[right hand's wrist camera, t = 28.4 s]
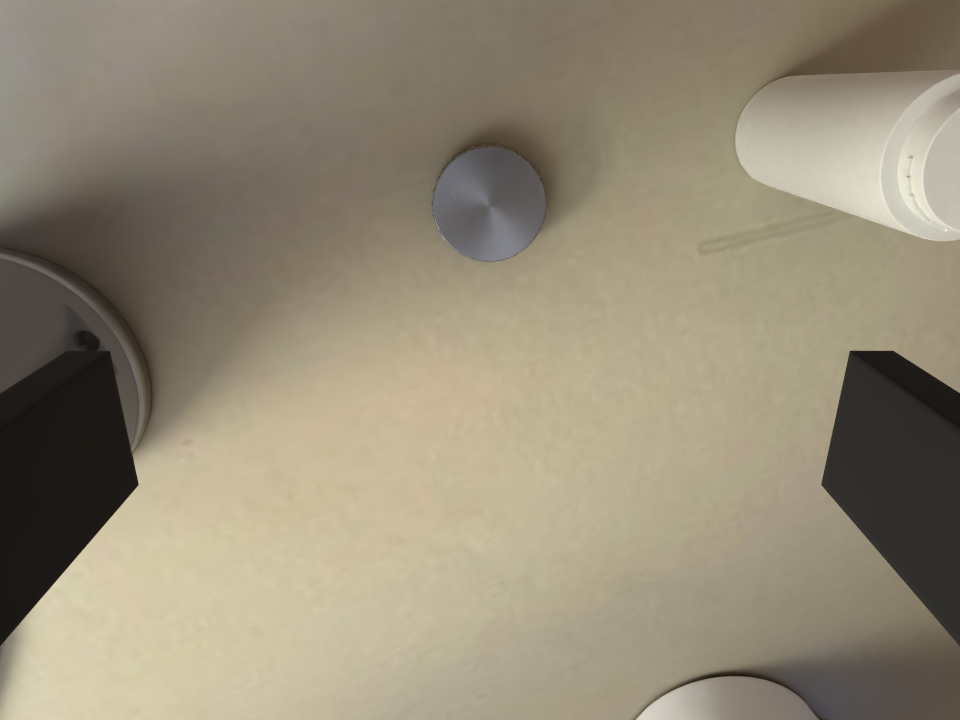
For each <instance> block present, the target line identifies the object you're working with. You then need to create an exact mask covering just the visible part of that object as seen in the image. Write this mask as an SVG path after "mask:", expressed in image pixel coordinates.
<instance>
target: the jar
mask: <svg viewBox="0 0 960 720" xmlns="http://www.w3.org/2000/svg"><path fill="white" fill-rule="evenodd" d="M735 146H736V152H737V156H738V159H739V161H740V163H741V165H742V167H743V168H744V170H745V171H746V172H747V173H748V174H749V175H750V176H751V177H752V178H753V179H755V180H756V181H758V182H760V183H762V184H765V185H767V186H770V187H773V188H776V189H779V190H782V191H785V192H788V193H791V194H794V195H797V196H800V197H803V198H806V199H809V200H812V201H814V202H817V203H820V204H823V205H826V206H829V207H832V208H835V209H838V210H841V211H844V212H847V213H850V214H853V215H856V216H858V217H861V218H864V219H867V220H870V221H873V222H876V223H879V224H882V225H885V226H888V227H891V228H894V229H897V230H900V231H902V232H905V233H908V234H911V235H914V236H917V237H920V238H924V239H928V240H935V241H952V240H959V239H960V69H956V70H929V71H903V72H877V73H850V74H824V75H798V76H788V77H784V78H780V79H777V80H775V81H773V82H771V83H769V84H768V85H766V86H764V87H763V88H762V89H761V90H759V91H758V92H757V93H756V94H755V95H754V96H753V97H752V98H751V100H750V101H749V102H748V103H747V105H746V106H745V108H744V110H743V112H742V114H741V116H740V118H739V121H738V124H737V129H736V136H735Z"/></svg>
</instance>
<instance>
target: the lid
mask: <svg viewBox="0 0 960 720" xmlns="http://www.w3.org/2000/svg"><path fill="white" fill-rule="evenodd" d="M442 170H443V172H442V173H441V175H440V177H439V176H438V178H437V180H436V181H438V182H437V185H436V187H435V188H434V190H433V193H434V196H433V201H432V205H433V217H434V218H435V222H436V225H437V228H438V229H439V232H440V233H441V235H442V237H443V238H444V239H445V241H446V242H447V243H448V244H449V245H450V246H451V247H452V248H453V249H454V250H456V251H457V252H459V253H460V254H462V255H464V256H466V257H468V258H471V259H474V260H478V261H486V262H490V261H500V260H504V259H507V258H510V257H512V256H515V255H516V254H518V253H520V252H521V251H523V250H524V249H525V248H526V247H527V246H528V245H529V244H530V243H531V242H532V241H533V240H534V239H535V237H536V236H537V234H538V232H539V231H540V229H541V226H542V224H543V220H544V219H545V211H546V207H547V205H546V198H545V195H546V192H545V190H544V187H543V185H542V183H543V181H542V179H541V178H539V176H538V174H537V172H538V171H537V169H536V168H533V167H532V165H531V164H530V161H529V159H527V160H526V159H525V158H524V157H523V156H521V154H520V152H519V151H518V152H515V151H514V150H511V149H510V148H509V147H508V146H507V148H506V147H503V146H499V145H498V144H496V143H495V145H486V144H485V143H483V145H480V146H476V147H474V145H473V146H472V147H471V148H469V149H467V150H465V151H463V150H462V151H461V152H460V154H458V155H457V156H456V157H455V158H453V157H452V158H451V160H450V162H449V163H448V165H447V166H446V167H445V166H444V167H443V169H442Z"/></svg>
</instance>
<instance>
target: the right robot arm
mask: <svg viewBox="0 0 960 720" xmlns="http://www.w3.org/2000/svg"><path fill="white" fill-rule="evenodd" d="M150 406H151V386H150V378H149V374H148V369H147V365H146V362H145V359H144V356H143V354H142V351H141V349H140V347H139V345H138V343H137V341H136V339H135V337H134V335H133V334H132V332H131V330H130V329H129V327H128V326H127V324H126V323H125V321H124V320H123V319H122V317H121V316H120V315H119V314H118V312H117V311H116V310H115V309H114V308H113V307H112V306H111V304H110V303H109V302H108V301H107V300H106V299H105V298H104V297H103V296H101V295H100V294H99V293H98V292H97V291H96V290H95V289H94V288H92V287H91V286H90V285H88V284H87V283H86V282H84V281H83V280H82V279H80V278H78V277H77V276H75V275H74V274H72V273H71V272H69V271H67V270H65V269H63V268H62V267H60V266H58V265H56V264H54V263H51V262H49V261H47V260H44V259H42V258H39V257H36V256H33V255H30V254H26V253H22V252H18V251H14V250H8V249H1V248H0V646H1V644H2V643H3V642H4V641H5V640H6V639H7V637H8V636H9V635H10V634H11V633H12V632H13V630H14V629H15V628H16V627H17V626H18V625H19V624H20V622H21V621H22V620H23V619H24V618H25V617H26V615H27V614H28V613H29V612H30V611H31V610H32V608H33V607H34V606H35V605H36V604H37V603H38V601H39V600H40V599H41V598H42V597H43V596H44V594H45V593H46V592H47V591H48V590H49V589H50V587H51V586H52V585H53V584H54V583H55V582H56V580H57V579H58V578H59V577H60V576H61V575H62V573H63V572H64V571H65V570H66V569H67V568H68V566H69V565H70V564H71V563H72V562H73V561H74V559H75V558H76V557H77V556H78V555H79V554H80V553H81V551H82V550H83V549H84V548H85V547H86V546H87V544H88V543H89V542H90V541H91V540H92V539H93V537H94V536H95V535H96V534H97V533H98V532H99V530H100V529H101V528H102V527H103V526H104V525H105V523H106V522H107V521H108V520H109V519H110V518H111V516H112V515H113V514H114V513H115V512H116V511H117V509H118V508H119V507H120V506H121V505H122V504H123V502H124V501H125V500H126V499H127V498H128V497H129V495H130V494H131V493H132V492H133V491H134V490H135V488H136V487H137V486H138V485H139V484H138V480H137V475H136V470H135V466H134V461H133V456H132V452H133V450H134V449H135V448H136V446H137V445H138V443H139V442H140V440H141V438H142V436H143V434H144V431H145V428H146V426H147V423H148V418H149V414H150ZM821 485H822V486H823V487H824V488H825V490H826V491H827V492H828V493H829V494H830V495H831V497H832V498H833V499H834V500H835V501H836V502H837V504H838V505H839V506H840V507H841V508H842V509H843V511H844V512H845V513H846V514H847V515H848V516H849V518H850V519H851V520H852V521H853V522H854V523H855V525H856V526H857V527H858V528H859V529H860V530H861V532H862V533H863V534H864V535H865V536H866V537H867V539H868V540H869V541H870V542H871V543H872V544H873V546H874V547H875V548H876V549H877V550H878V551H879V553H880V554H881V555H882V556H883V557H884V558H885V559H886V561H887V562H888V563H889V564H890V565H891V566H892V568H893V569H894V570H895V571H896V572H897V573H898V575H899V576H900V577H901V578H902V579H903V580H904V582H905V583H906V584H907V585H908V586H909V587H910V589H911V590H912V591H913V592H914V593H915V594H916V596H917V597H918V598H919V599H920V600H921V601H922V603H923V604H924V605H925V606H926V607H927V608H928V610H929V611H930V612H931V613H932V614H933V615H934V617H935V618H936V619H937V620H938V621H939V622H940V624H941V625H942V626H943V627H944V628H945V629H946V630H947V632H948V633H949V634H950V635H951V636H952V637H953V639H954V640H955V641H956V642H957V643H958V644H959V646H960V393H959V392H957V391H955V390H954V389H952V388H951V387H949V386H948V385H946V384H944V383H943V382H941V381H940V380H938V379H937V378H935V377H933V376H932V375H930V374H929V373H927V372H926V371H924V370H922V369H921V368H919V367H918V366H916V365H915V364H913V363H911V362H910V361H908V360H907V359H905V358H904V357H902V356H900V355H899V354H897V353H896V352H894V351H850V353H849V358H848V363H847V367H846V372H845V377H844V381H843V386H842V391H841V395H840V400H839V405H838V409H837V414H836V419H835V423H834V428H833V433H832V437H831V442H830V447H829V451H828V456H827V461H826V466H825V470H824V475H823V480H822V484H821Z"/></svg>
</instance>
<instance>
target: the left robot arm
mask: <svg viewBox="0 0 960 720" xmlns="http://www.w3.org/2000/svg"><path fill="white" fill-rule="evenodd" d="M636 720H819V719H818V718H817V717H816V716H815V714H814V713H813V712H812V710H811V709H810V708H809V706H808V705H807V704H806V703H805V702H804V701H803V700H802V699H801V698H800V697H799V696H798V695H796V694H795V693H794V692H792V691H791V690H789V689H787V688H785V687H783V686H781V685H779V684H776V683H774V682H771V681H767V680H763V679H759V678H753V677H744V676H725V677H715V678H709V679H704V680H700V681H696V682H693V683H690V684H687V685H684V686H682V687H679V688H677V689H675V690H673V691H671V692H669V693H667V694H665V695H664V696H662V697H660V698H659V699H657V700H656V701H655V702H653V703H652V704H651V705H650V706H648V707H647V708H646V709H645V710H644V711H643V712H642V713H641V714H640V715H639V717H638V718H637V719H636Z"/></svg>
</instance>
